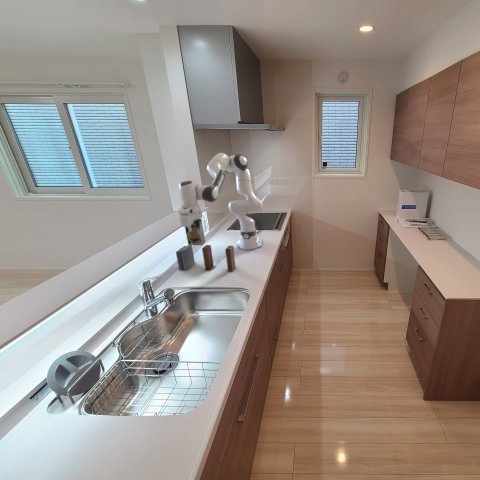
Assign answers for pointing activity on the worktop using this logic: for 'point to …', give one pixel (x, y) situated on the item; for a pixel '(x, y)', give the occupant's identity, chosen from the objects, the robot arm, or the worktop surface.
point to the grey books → (185, 257)
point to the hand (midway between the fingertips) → (194, 229)
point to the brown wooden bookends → (209, 259)
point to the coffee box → (195, 233)
